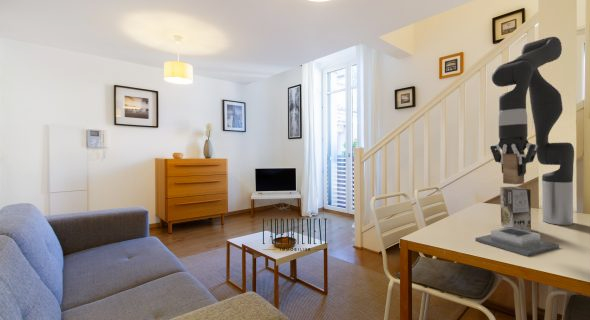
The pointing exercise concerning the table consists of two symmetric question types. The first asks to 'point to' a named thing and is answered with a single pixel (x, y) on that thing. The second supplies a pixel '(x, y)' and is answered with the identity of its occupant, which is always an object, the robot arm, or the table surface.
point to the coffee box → (516, 207)
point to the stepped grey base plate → (517, 241)
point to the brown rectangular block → (511, 169)
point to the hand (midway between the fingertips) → (513, 175)
